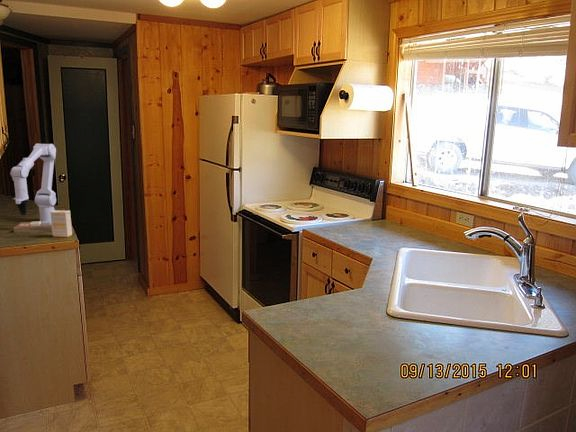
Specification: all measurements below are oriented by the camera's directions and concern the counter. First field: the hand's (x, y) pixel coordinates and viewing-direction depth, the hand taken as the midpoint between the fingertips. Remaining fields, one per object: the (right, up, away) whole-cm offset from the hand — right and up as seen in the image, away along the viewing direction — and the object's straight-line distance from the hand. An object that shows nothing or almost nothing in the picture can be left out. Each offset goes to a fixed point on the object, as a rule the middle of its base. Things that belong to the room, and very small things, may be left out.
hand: (23, 214), depth 259 cm
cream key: (+5, -6, +2) cm, 8 cm away
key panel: (+5, -8, +3) cm, 10 cm away
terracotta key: (0, -7, +1) cm, 7 cm away
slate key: (+11, -6, +3) cm, 13 cm away
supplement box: (+25, -11, -10) cm, 30 cm away
